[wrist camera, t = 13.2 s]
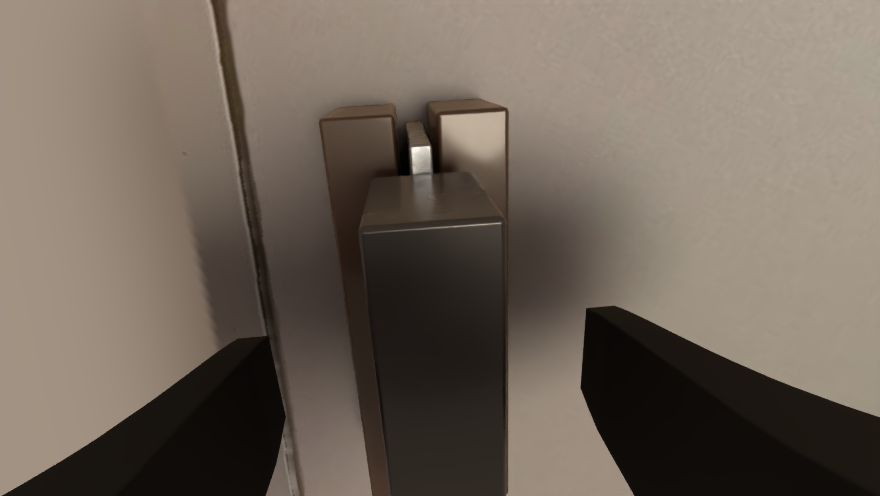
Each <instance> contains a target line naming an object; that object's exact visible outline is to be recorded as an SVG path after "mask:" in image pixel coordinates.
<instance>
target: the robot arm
mask: <svg viewBox="0 0 880 496" xmlns="http://www.w3.org/2000/svg"><path fill="white" fill-rule="evenodd" d="M581 390H582V393H583V395H584V398H585V401H586V403H587V406H588V408H589V411H590V413H591V416H592V418H593V420H594V423H595V425H596V427H597V430H598V432H599V434H600V435H601V437H602V439H603V441H604V443H605V445H606V446H607V448H608V450H609V452H610V453H611V455H612V457H613V459H614V461H615V462H616V464H617V466H618V468H619V469H620V471H621V473H622V475H623V476H624V478H625V480H626V482H627V483H628V485H629V487H630V489H631V490H632V492H633V494H634V496H880V417H877V416H874V415H871V414H868V413H865V412H862V411H859V410H856V409H853V408H850V407H847V406H844V405H841V404H838V403H836V402H833V401H830V400H828V399H825V398H822V397H819V396H817V395H814V394H811V393H808V392H806V391H803V390H800V389H798V388H795V387H792V386H790V385H787V384H785V383H782V382H780V381H777V380H775V379H772V378H770V377H767V376H765V375H763V374H761V373H758V372H756V371H754V370H751V369H749V368H747V367H744V366H742V365H740V364H738V363H735V362H733V361H731V360H729V359H726V358H724V357H722V356H720V355H718V354H716V353H713V352H711V351H709V350H707V349H705V348H703V347H701V346H699V345H697V344H695V343H693V342H690V341H688V340H686V339H684V338H682V337H680V336H678V335H676V334H674V333H672V332H670V331H668V330H666V329H664V328H662V327H660V326H658V325H656V324H654V323H652V322H650V321H648V320H646V319H644V318H642V317H640V316H638V315H635V314H633V313H631V312H629V311H627V310H624V309H622V308H619V307H616V306H606V307H595V308H586V319H585V333H584V347H583V361H582V376H581ZM285 418H286V416H285V411H284V407H283V402H282V397H281V393H280V388H279V383H278V379H277V374H276V370H275V365H274V360H273V356H272V351H271V347H270V342H269V337H268V336H261V337H250V338H238V339H236V340H235V341H233V342H231V343H230V344H228V345H227V346H225V347H224V348H222V349H221V350H220V351H218V352H217V353H216V354H214V355H213V356H211V357H210V358H209V359H207V360H206V361H205V362H203V363H202V364H201V365H199V366H198V367H197V368H195V369H194V370H193V371H191V372H190V373H189V374H187V375H186V376H185V377H184V378H182V379H181V380H179V381H178V382H177V383H175V384H174V385H173V386H171V387H170V388H169V389H167V390H166V391H165V392H163V393H162V394H160V395H159V396H158V397H156V398H155V399H154V400H152V401H151V402H149V403H148V404H146V405H145V406H144V407H142V408H141V409H139V410H138V411H136V412H135V413H133V414H132V415H130V416H129V417H128V418H126V419H125V420H123V421H122V422H120V423H119V424H117V425H116V426H114V427H113V428H112V429H110V430H109V431H107V432H106V433H104V434H103V435H101V436H100V437H99V438H97V439H96V440H94V441H92V442H91V443H89V444H88V445H87V446H85V447H83V448H82V449H80V450H79V451H77V452H75V453H74V454H72V455H70V456H69V457H67V458H66V459H64V460H62V461H61V462H59V463H57V464H56V465H54V466H52V467H51V468H49V469H47V470H46V471H44V472H42V473H41V474H39V475H37V476H35V477H34V478H32V479H30V480H29V481H27V482H25V483H24V484H22V485H20V486H18V487H17V488H15V489H13V490H11V491H10V492H8V493H6V494H4V495H2V496H266V493H267V490H268V487H269V484H270V481H271V478H272V475H273V472H274V469H275V466H276V462H277V458H278V453H279V448H280V444H281V439H282V433H283V428H284V423H285Z"/></svg>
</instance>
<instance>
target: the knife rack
mask: <svg viewBox="0 0 880 496" xmlns="http://www.w3.org/2000/svg"><path fill="white" fill-rule="evenodd" d="M428 118H429V134H430V143H431V146H432V158H433V174H439V173H453V172H468V171H469V172H472V173H473V174H474V175H475V177H476V178H477V180H478V181H479V182H480V184H481V185H482V187H483V188H484V189H485V191H486V192H487V193H488V195H489V196H490V198H491V199H492V200H493V202H494V203H495V205H496V206H497V207H498V209H499V210H500V212H501V213H502V214H503V216H504V217H505V219H506V494H507V493H508V165H509V111H508V109H507V108H505V107H503V106H500V105H497V104H494V103H491V102H488V101H485V100H482V99H467V100H451V101H434V102H430V103H429V104H428ZM319 126H320V133H321V140H322V147H323V154H324V161H325V168H326V175H327V182H328V189H329V196H330V203H331V210H332V217H333V224H334V231H335V238H336V245H337V252H338V259H339V266H340V273H341V280H342V287H343V294H344V301H345V308H346V315H347V322H348V329H349V336H350V343H351V350H352V357H353V364H354V371H355V378H356V385H357V392H358V399H359V406H360V413H361V420H362V427H363V434H364V441H365V448H366V455H367V462H368V469H369V475H370V482H371V489H372V496H390V491H389V483H388V475H387V467H386V459H385V451H384V442H383V434H382V426H381V418H380V410H379V402H378V393H377V385H376V377H375V369H374V361H373V353H372V344H371V336H370V328H369V320H368V312H367V304H366V296H365V287H364V279H363V271H362V263H361V255H360V247H359V238H358V230H359V226H360V222H361V218H362V215H363V211H364V207H365V203H366V199H367V195H368V191H369V188H370V184H371V180H372V179H374V178H380V177H394V176H401V168H400V156H399V144H398V132H397V120H396V108H395V105H394V104H384V105H367V106H350V107H340V108H338V109H336V110H335V111H333V112H331V113H330V114H328V115H326V116H325V117H323V118H321V119H320V120H319Z"/></svg>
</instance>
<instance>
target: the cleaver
mask: <svg viewBox="0 0 880 496" xmlns="http://www.w3.org/2000/svg"><path fill="white" fill-rule="evenodd" d="M406 133H407V146H408V159H409V172H410V175H409V176H394V177H380V178H374V179H372V180H371V184H370V188H369V191H368V195H367V199H366V203H365V207H364V211H363V215H362V218H361V222H360V226H359V230H358V238H359V247H360V255H361V263H362V271H363V279H364V287H365V296H366V304H367V312H368V320H369V328H370V336H371V344H372V353H373V361H374V369H375V377H376V385H377V393H378V402H379V410H380V418H381V426H382V434H383V442H384V451H385V459H386V467H387V475H388V483H389V491H390V496H506V219H505V217H504V216H503V214H502V213H501V212H500V210H499V209H498V207H497V206H496V205H495V203H494V202H493V200H492V199H491V198H490V196H489V195H488V193H487V192H486V191H485V189H484V188H483V187H482V185H481V184H480V182H479V181H478V180H477V178H476V177H475V175H474V174H473V173H472V172H469V171H468V172H453V173H439V174H433V158H432V146H431V143H430V141H429V139H428V136H427V134H426V132H425V129H424V127H423V125H422V122H421V121H409V122H406Z"/></svg>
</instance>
